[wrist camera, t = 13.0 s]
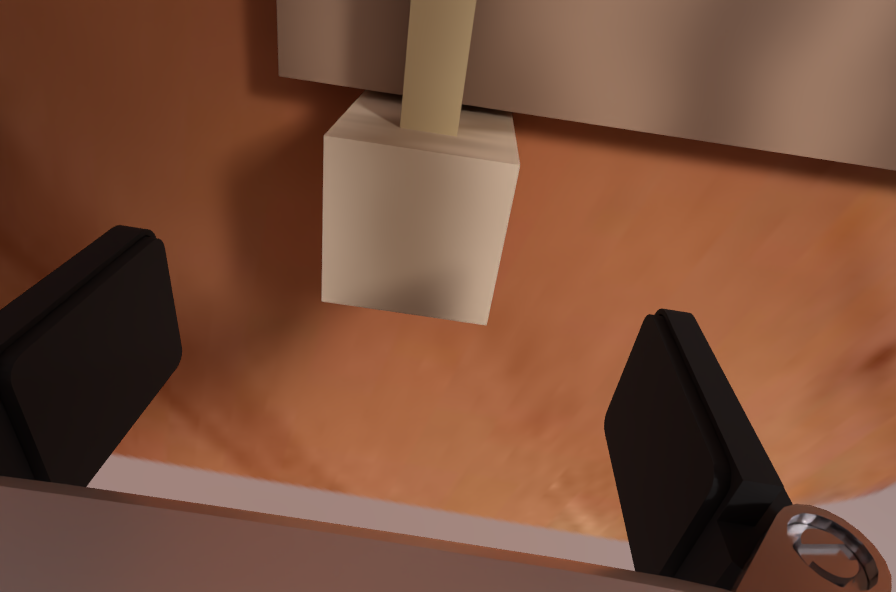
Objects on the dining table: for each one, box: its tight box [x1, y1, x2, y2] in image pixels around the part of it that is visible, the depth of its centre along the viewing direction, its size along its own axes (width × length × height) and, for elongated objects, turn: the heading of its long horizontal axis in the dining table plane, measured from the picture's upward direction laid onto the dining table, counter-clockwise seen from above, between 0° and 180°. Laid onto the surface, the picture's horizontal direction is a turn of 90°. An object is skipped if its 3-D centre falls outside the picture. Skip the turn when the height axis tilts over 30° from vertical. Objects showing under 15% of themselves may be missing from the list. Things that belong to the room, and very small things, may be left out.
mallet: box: [322, 0, 520, 325], centre depth 16 cm, size 5×13×6 cm, turn 172°
